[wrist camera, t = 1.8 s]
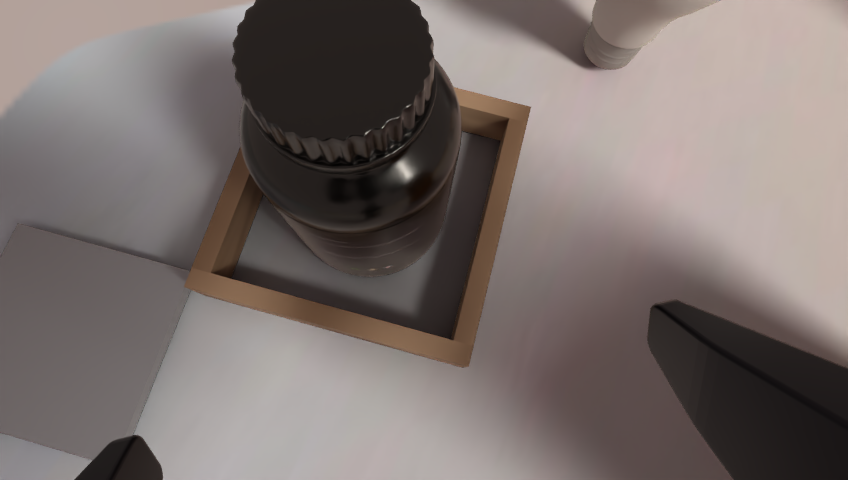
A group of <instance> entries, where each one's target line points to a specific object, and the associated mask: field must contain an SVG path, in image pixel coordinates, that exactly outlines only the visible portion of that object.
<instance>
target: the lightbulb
mask: <svg viewBox="0 0 848 480" xmlns="http://www.w3.org/2000/svg"><path fill="white" fill-rule="evenodd" d="M718 1H720V0H596V2H595V5H594V8H593V13H592V22H591V25H590V27H589V29H588V33H587V35H586V38H585V41H584V51H585V53H586V56H587V57H588V59H589V60H590V61H591V62H592V63H593V64H595V65H596V66H598V67H600V68H603V69H609V70H613V69H619V68H622V67H624V66H625V65H627V64H628V63H629V62H630V61H631V59H633V58H634V56H635V55H636V54H637V53H638V51H639V50H640V49H641V48H642V47H643V46H645V45H647V44H648V43H650V42H651V41H652V40H653V39H654V38H655V37H656V36H657V35H658V33H659V32H660V31H661V30H662V29H663V28H664V27H665V26H667V25H668V24H669V23H670V22H672V21H673V20H675V19H677V18H679V17H682V16H685V15H688V14H691V13H693V12H696V11H698V10H700V9H703V8H705V7H707V6H709V5H712V4H714V3H716V2H718Z"/></svg>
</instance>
